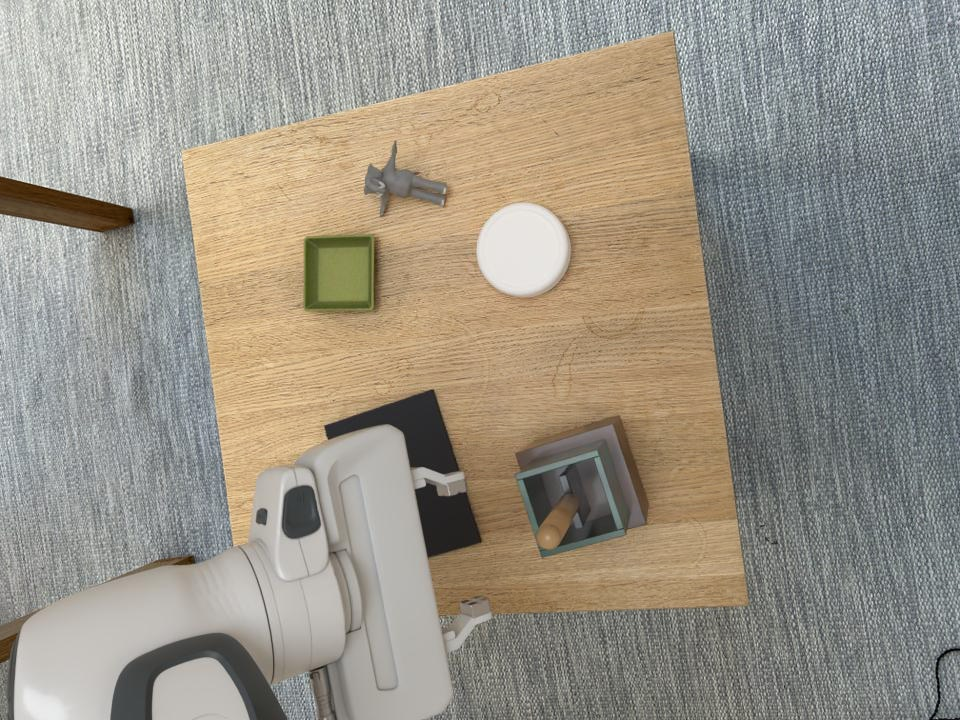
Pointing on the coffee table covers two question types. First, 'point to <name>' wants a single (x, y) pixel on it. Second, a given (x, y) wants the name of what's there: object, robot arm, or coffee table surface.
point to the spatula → (565, 510)
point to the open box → (584, 482)
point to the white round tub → (523, 250)
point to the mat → (430, 448)
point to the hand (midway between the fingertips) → (474, 543)
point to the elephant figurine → (400, 183)
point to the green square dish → (339, 273)
